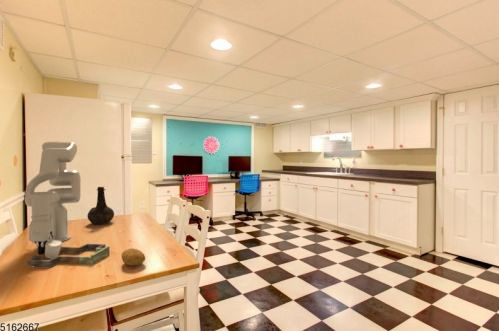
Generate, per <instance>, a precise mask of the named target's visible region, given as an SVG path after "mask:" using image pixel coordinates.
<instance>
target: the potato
mask: <svg viewBox="0 0 499 331" xmlns="http://www.w3.org/2000/svg"><path fill="white" fill-rule="evenodd" d="M121 261H122V262H123V264H125V265H128V266H132V267H135V266H139V265H142V264H143V263H144V262H145V261H146V255H145V254H144V253H143V251H141V250H140V249H137V248H128V249H125V250H124V251H123V252H122V253H121Z"/></svg>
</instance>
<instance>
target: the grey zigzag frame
mask: <svg viewBox="0 0 499 331" xmlns="http://www.w3.org/2000/svg"><path fill="white" fill-rule="evenodd" d="M89 250H90V251H95V252H94V253H92V254H91V255H90V256H81V255H80V256H79V255H78V256H77V255H75V256H74V255H58V257H55V258H50V259H49V260H46V259H45V260H44V259H43V255H38V254H31V255H30V259H28V260H27V267H28V266H34V267H33V268H46V267H48V268H49V267H50V268H52V267H53V266H55V265H58V264H60V263H64V264H89V265H91V264H93V265H94V264H95V263H97V262H98V261H101V260H102V259H104V258H105V257H108V256H109V255H110V254H111V253H110V246H108V245H107V246H106V244H105V243H85V244H84V245H81V246H79V247H78V246H61V249H60V252H59V254H82V253H83V252H86V251H89ZM50 268H49V269H50Z"/></svg>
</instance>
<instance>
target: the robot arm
mask: <svg viewBox="0 0 499 331" xmlns="http://www.w3.org/2000/svg"><path fill="white" fill-rule="evenodd" d="M41 149H42V151H41V154H40V155H41V158H40V164H39V172H38V173H37V175H35V176H33V178H32V179H31V180H30V181H29V182H28V183H27V185H26V188H25V195H24V203H25V205H26V206H28V207H31V216H30V218H31V221H30V223H29V229H28V240H29V241H30V242H31V243H34V244H35V245H36V247H37V255H42V256H43V255H45V246H46V242H47V241H48V242H50V243H51V242H53V240H60V241H62V242H64V241H68V240H70V239H71V238H72V235H70V234H69V233H68V232H69V231H68V230H69V229H68V208H66V206H65V205H64V204H77V203H79V202H80V200H81V174H80V172H79V171H77V170H68V169H67V163H71V162H72V161H73V160H74V159H75V156H76V155H77V152H78V146H77V144H76V143H75V142H73V141H47V142H44V143H43V144H42V145H41ZM47 181H48V182H49V184H50V185H51V186H54V187H55V188H50V189H48V190H46V191H35V190H36V189H37V187H38V186H39V185H41V184H42V183H44V182H47ZM69 186H70V187H69ZM57 187H58V188H57Z"/></svg>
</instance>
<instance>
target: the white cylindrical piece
mask: <svg viewBox="0 0 499 331" xmlns="http://www.w3.org/2000/svg"><path fill="white" fill-rule="evenodd" d="M61 247H63V241H60V240H53V242H51V243H50V242H48V241H47V242H46V246H45V254H44V257H45V258H46V259H53V258H55V257H58V256H60V253H59V252H60V249H61Z"/></svg>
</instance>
